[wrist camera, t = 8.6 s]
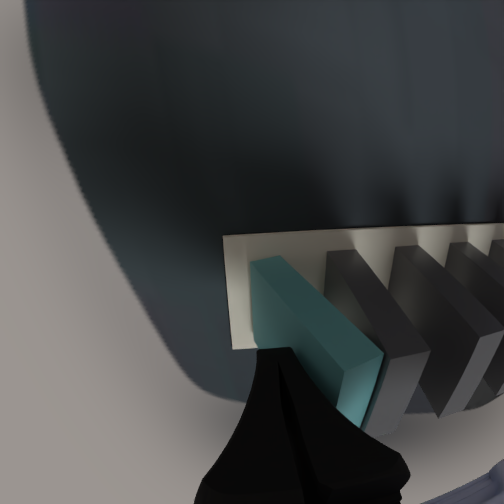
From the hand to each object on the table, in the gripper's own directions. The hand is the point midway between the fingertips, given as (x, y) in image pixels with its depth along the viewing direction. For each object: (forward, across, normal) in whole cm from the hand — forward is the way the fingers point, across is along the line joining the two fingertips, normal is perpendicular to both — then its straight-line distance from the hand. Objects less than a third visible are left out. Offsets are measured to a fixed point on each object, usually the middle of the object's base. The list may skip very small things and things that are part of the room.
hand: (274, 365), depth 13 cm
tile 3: (+5, -8, 0) cm, 10 cm away
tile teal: (+5, 0, 0) cm, 5 cm away
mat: (+5, -8, 0) cm, 10 cm away
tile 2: (+5, -4, 0) cm, 7 cm away
